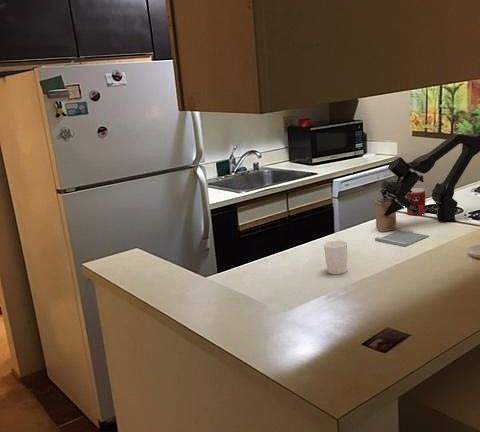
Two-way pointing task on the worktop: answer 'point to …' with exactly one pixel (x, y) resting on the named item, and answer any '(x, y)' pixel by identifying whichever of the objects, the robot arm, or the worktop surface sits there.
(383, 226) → the wooden tall block
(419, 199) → the canned food
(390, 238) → the grey flat slab
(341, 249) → the white cup
